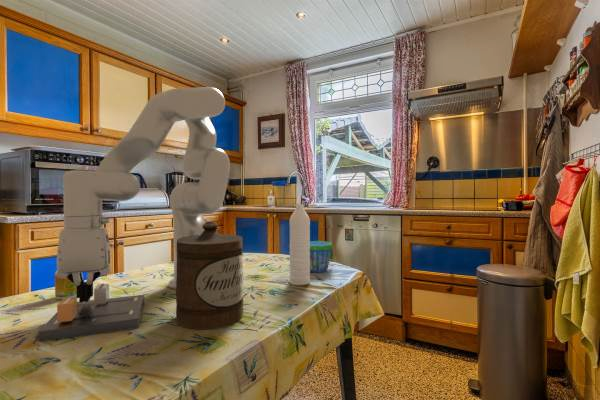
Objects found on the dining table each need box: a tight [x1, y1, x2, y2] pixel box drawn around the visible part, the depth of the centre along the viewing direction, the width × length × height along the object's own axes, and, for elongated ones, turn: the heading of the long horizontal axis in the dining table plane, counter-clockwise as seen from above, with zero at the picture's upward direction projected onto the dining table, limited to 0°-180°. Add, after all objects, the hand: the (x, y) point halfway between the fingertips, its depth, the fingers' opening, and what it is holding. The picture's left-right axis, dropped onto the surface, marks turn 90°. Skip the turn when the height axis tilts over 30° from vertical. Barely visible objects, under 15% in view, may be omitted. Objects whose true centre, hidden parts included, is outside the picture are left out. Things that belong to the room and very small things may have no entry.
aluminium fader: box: [93, 283, 110, 304], centre depth 77 cm, size 2×4×4 cm, turn 22°
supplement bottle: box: [54, 269, 77, 300], centre depth 88 cm, size 5×5×10 cm
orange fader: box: [56, 296, 78, 323], centre depth 67 cm, size 2×4×4 cm, turn 22°
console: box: [38, 294, 145, 343], centre depth 72 cm, size 17×17×2 cm
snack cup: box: [310, 240, 335, 274], centre depth 117 cm, size 16×10×10 cm
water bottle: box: [288, 203, 317, 286], centre depth 101 cm, size 9×6×25 cm
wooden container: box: [175, 221, 244, 330], centre depth 74 cm, size 15×15×22 cm
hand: (85, 300), depth 76 cm, fingers closed
